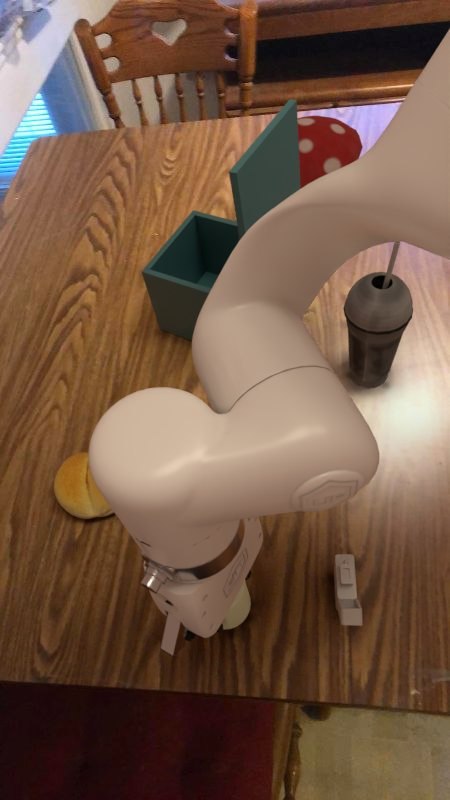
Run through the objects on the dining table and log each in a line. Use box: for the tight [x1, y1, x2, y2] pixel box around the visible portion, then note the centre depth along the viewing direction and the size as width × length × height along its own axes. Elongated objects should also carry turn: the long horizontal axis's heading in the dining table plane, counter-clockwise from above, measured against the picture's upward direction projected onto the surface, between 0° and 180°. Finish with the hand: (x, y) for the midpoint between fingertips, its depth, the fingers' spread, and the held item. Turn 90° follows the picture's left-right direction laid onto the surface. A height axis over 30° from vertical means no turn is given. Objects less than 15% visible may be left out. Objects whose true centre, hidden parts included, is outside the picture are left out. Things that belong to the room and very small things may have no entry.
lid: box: [228, 98, 301, 239], centre depth 60 cm, size 17×13×1 cm
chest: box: [141, 209, 240, 342], centre depth 74 cm, size 16×13×11 cm
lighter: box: [333, 553, 363, 626], centre depth 52 cm, size 7×2×8 cm, turn 177°
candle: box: [222, 580, 252, 630], centre depth 53 cm, size 5×5×8 cm
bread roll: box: [53, 451, 115, 520], centre depth 64 cm, size 8×9×4 cm
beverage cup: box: [343, 242, 414, 389], centre depth 62 cm, size 7×7×20 cm
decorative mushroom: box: [297, 115, 363, 188], centre depth 83 cm, size 16×16×15 cm
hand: (222, 595), depth 54 cm, fingers closed on candle, 4 cm apart
